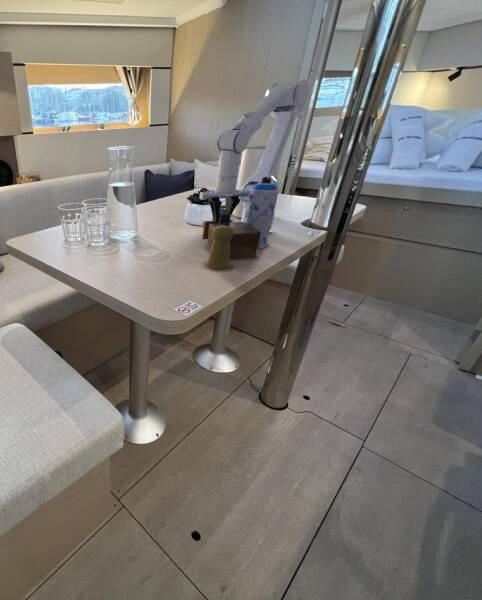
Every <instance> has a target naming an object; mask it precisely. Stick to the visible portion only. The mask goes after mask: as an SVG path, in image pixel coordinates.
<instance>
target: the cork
mask: <svg viewBox="0 0 482 600" xmlns="http://www.w3.org/2000/svg"><path fill="white" fill-rule="evenodd" d="M233 234H234V231H233V229H232V228H231V227H229V226H217V227H215V228H214V229H213V232H212V236H213V238H214V240H213V244H212V247H211V251H210V250H209V255H208V258H207V261H206V268H208V269H210V270H212V271H227V270H229V269H230V268H231V267H230V266H231V265H230V263H231V262H230V261H231V259H230V240H231V239H232V237H233Z"/></svg>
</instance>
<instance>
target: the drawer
mask: <svg viewBox="0 0 482 600" xmlns="http://www.w3.org/2000/svg"><path fill="white" fill-rule="evenodd" d="M230 222H234V220H233V219H231V218H230ZM201 223H202V226H203V227H202V228H203V229H202V235H201V239H202V240H203V241H204V240H207V241H208V236H209V229H210V224H216V223H215V222H213V219H211V220H203V221H202V222H201Z"/></svg>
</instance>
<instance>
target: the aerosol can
mask: <svg viewBox="0 0 482 600" xmlns="http://www.w3.org/2000/svg"><path fill="white" fill-rule="evenodd" d="M278 195H279V187H278V188H277V186H276V185H275V184H274V183H273V182H271V178H270V177H263V178H262V182H259V183H257V184H255V185H254V187H252V188H251V190H250V195H249V201H248V206H247V211H246V217H245V222H244V223H246V224H248V225H250V226H251V227H253V228H255V229H257V230H258V231H260V232H261V234H260V239H259V244H258V248H257V249H265V248H266V247H267V246H268V240H269V235H270V233H269V231H270V227H271V223H272V218H273V214H274V215H275V209H276V204H277V200H278ZM273 219H274V218H273ZM272 224H273V223H272ZM271 228H272V227H271Z"/></svg>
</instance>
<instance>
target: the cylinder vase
mask: <svg viewBox="0 0 482 600" xmlns="http://www.w3.org/2000/svg"><path fill="white" fill-rule="evenodd" d="M266 147H267V145H257V146H256V145H255V146H254V145H253V146H247V147H246V149H245V150H244V151H243V152H242V153H241V159H240V166H239V172H238V178H237V184H236V190H242V188H243V187H244V185H245V183H246V181H247V179H248V178H249V177H251V176H253V175H254V174H256V173H257V171H258V168H259V165H260V163H261V160H262V158H263V155H264V152H265V150H266ZM277 168H278V167H277ZM277 168H276V170H275V173H274V175H273V177H274V178H275V177H276V173H277ZM275 179H276V178H275ZM239 199H240V197H239ZM242 203H243V202H242V201H241V199H240V203H239V204H238V205H237V206H236V208H235V209H234V211H233V213H232V215H233V216H234V217H236V218H239V219H242V214H243V209H244V205H242Z"/></svg>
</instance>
